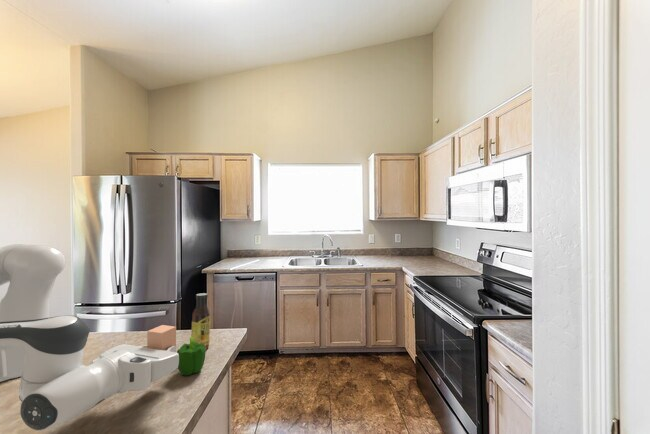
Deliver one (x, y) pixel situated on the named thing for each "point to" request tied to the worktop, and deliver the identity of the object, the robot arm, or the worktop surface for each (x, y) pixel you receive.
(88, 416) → the worktop surface
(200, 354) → the bell pepper
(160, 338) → the terracotta block
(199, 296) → the sauce bottle
